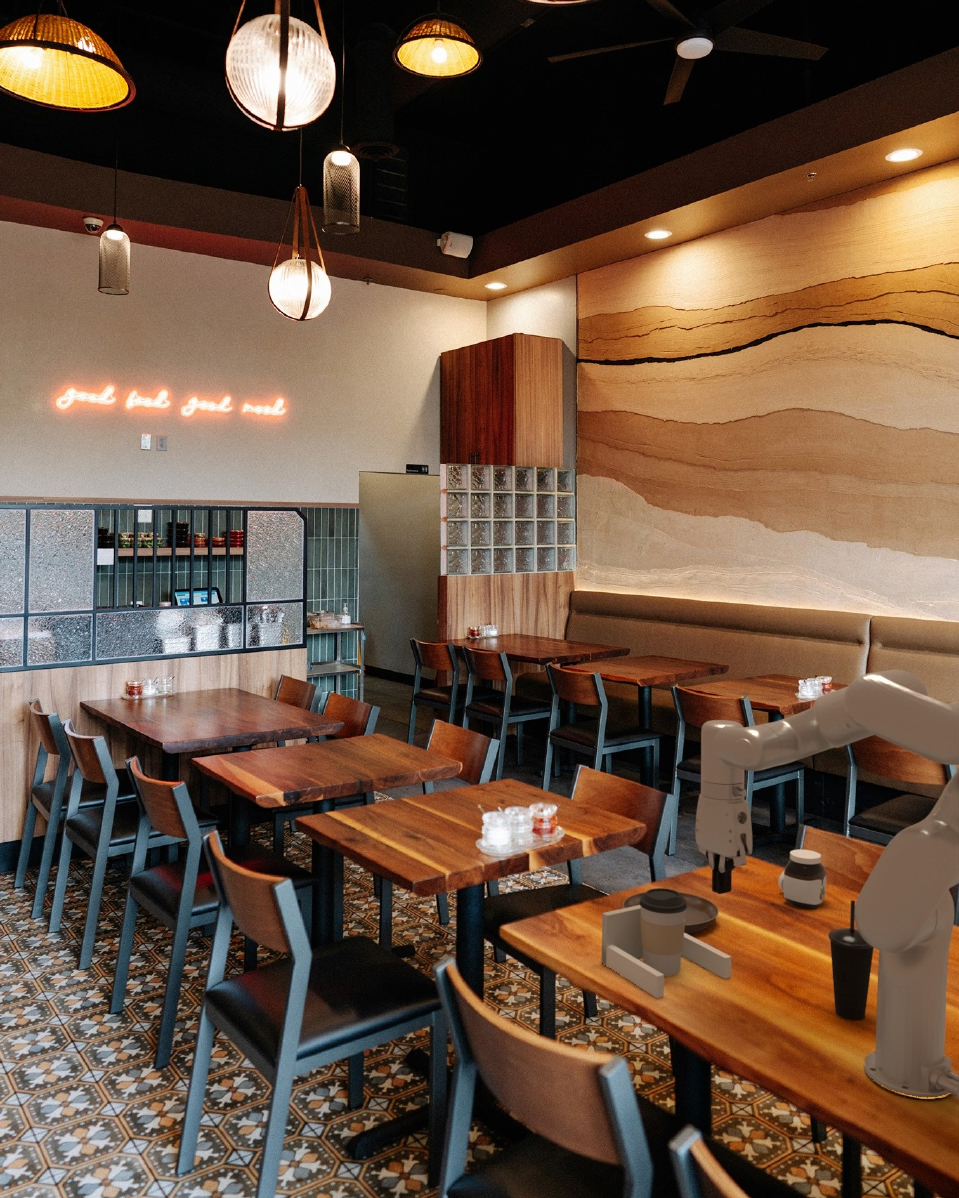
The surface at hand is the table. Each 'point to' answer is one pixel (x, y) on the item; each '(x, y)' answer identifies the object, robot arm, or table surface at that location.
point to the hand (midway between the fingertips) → (721, 891)
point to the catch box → (627, 946)
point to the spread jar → (804, 880)
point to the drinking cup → (850, 970)
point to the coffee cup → (662, 929)
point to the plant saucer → (688, 911)
